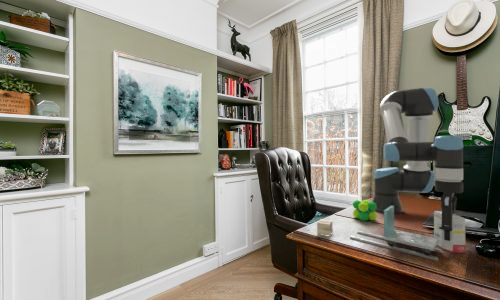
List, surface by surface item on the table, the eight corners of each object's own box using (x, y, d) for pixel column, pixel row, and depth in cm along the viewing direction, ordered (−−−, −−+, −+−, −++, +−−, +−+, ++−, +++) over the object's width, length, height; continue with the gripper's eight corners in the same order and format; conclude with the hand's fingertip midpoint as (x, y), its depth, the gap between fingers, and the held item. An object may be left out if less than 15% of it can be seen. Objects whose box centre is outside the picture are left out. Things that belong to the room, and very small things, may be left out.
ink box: (466, 253, 77) (466, 217, 77) (450, 253, 78) (449, 217, 78) (448, 243, 86) (447, 210, 86) (433, 242, 86) (433, 210, 86)
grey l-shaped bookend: (391, 237, 90) (391, 205, 90) (438, 247, 80) (438, 212, 80) (383, 245, 83) (383, 210, 83) (434, 258, 73) (433, 218, 73)
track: (358, 232, 98) (358, 230, 98) (441, 251, 79) (441, 249, 79) (349, 238, 92) (349, 236, 92) (437, 261, 73) (437, 258, 73)
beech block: (320, 230, 101) (320, 219, 101) (332, 232, 98) (332, 221, 98) (317, 234, 96) (317, 222, 96) (329, 236, 94) (329, 224, 94)
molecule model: (366, 215, 121) (351, 217, 119) (366, 198, 121) (351, 199, 119) (378, 221, 112) (362, 222, 111) (378, 202, 112) (362, 203, 111)
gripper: (439, 176, 92) (439, 233, 92) (429, 183, 76) (430, 251, 77) (465, 177, 87) (465, 238, 87) (460, 185, 71) (461, 259, 71)
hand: (449, 244), depth 82 cm, fingers closed on ink box, 9 cm apart
